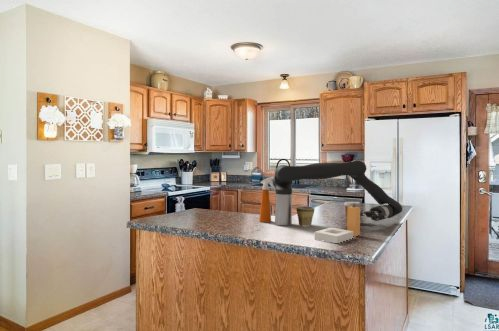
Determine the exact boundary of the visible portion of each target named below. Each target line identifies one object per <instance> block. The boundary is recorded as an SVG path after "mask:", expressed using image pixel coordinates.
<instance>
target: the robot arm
mask: <svg viewBox="0 0 499 331" xmlns="http://www.w3.org/2000/svg"><path fill="white" fill-rule="evenodd" d="M366 171H367V164H365V162H363V161H362V160H359V159H357V160H353V161H352V160H351V161H345V162H317V163H316V162H315V163H311V164H306V165H302V166H301V165H300V166H298V165H295V166H294V165H285V164H282V165H278V166H277V167H276V168H275V170H274V187H275V190H274V191H275V207H274V216H275V217H274V225H276V226H291V225H292V224H293V223H292V222H293V216H292V214H293V213H292V212H293V188H292V184H291V182H293V181H300V180H310V181H311V180H328V179H333V178H337V177H343V176H348V177H350V178H352V179H353V180H354V181H355V182H357V184H359V185H360V187H362V188H363V189H364V191H366V192H367V193H368V194H369V195H370V197H371V198H373V200H375V201H376V203H377V204H378V205H377V206H373V207H371V208H369V210H360V218H364V219H366V218H367V219H371V220H372V221H374V222H379V221H384V220H386V219H391V218H393V217H395V216H397V215H399V214H401V213H402V212H403V206H402V204H401V203H400V202H398V201H397V200H395V199H394V198H392V197H391V196H389V194H387V193H386V192H385V191H384V189H383V188H382V187H380V186H379V185H378V184H376V183H375V182H373V181H372V180H371V179H370V178H368V177H367V176H366V175H365V173H366Z"/></svg>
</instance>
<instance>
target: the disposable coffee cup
mask: <svg viewBox="0 0 499 331" xmlns="http://www.w3.org/2000/svg"><path fill="white" fill-rule="evenodd" d="M352 203H356V207H360V208H361V206H362V204H361V202H359V201H352V200H348V201H347V200H346V201H345V202H344V204H343V206H344V210H345V219H346V222H347V207H351V206H352Z"/></svg>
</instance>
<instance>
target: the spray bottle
mask: <svg viewBox="0 0 499 331" xmlns="http://www.w3.org/2000/svg"><path fill="white" fill-rule="evenodd" d="M274 180H275V176H270V177H267V178H264V179H262V180H261V181H260V184H261V185H262V189H261V200H260V209H259V210H260V211H259V217H258V221H259V222H260V223H270V222H272V215H271V214H272V213H271V203H270V192H269V185H270V186H271V188H272V189H273V190H274V191H276V190H275V184H274Z"/></svg>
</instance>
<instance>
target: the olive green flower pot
mask: <svg viewBox="0 0 499 331" xmlns="http://www.w3.org/2000/svg"><path fill="white" fill-rule="evenodd" d="M295 208H296V214H297V220H298V224H299V225H300V226H299V227H302V226H306V227H305V228H308V226H310V227H311V226H312V222H313V218H314V213H315V208H316V207H313V206H307V205H306V206H304V205H303V206H302V205H301V206H297V207H295Z"/></svg>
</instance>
